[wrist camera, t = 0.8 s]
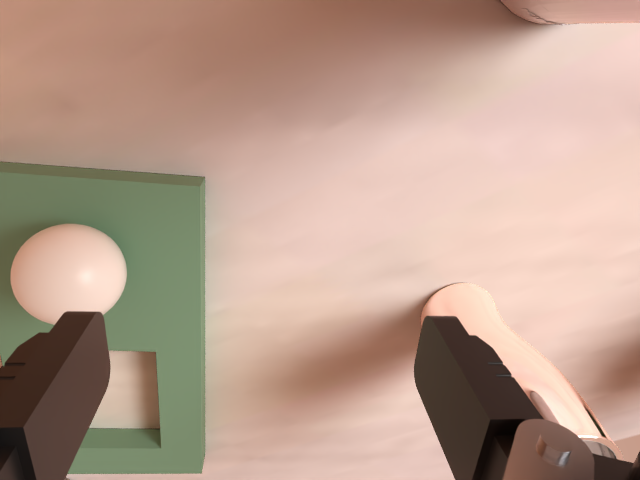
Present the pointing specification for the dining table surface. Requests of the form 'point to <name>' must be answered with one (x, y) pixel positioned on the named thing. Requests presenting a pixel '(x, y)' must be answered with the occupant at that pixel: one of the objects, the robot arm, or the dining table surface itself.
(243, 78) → the dining table surface
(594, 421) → the beer glass
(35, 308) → the ball
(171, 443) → the putting mat
